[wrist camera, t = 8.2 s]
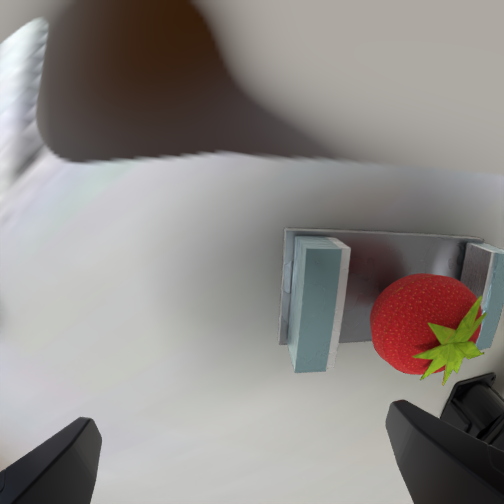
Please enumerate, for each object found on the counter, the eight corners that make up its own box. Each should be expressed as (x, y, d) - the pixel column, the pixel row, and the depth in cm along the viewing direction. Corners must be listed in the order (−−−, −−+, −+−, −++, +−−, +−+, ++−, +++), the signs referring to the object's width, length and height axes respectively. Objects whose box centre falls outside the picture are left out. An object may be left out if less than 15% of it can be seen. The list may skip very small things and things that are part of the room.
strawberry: (354, 244, 20) (436, 308, 10) (443, 257, 20) (536, 310, 10) (335, 326, 21) (387, 425, 11) (421, 328, 21) (493, 405, 12)
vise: (476, 236, 21) (514, 250, 16) (458, 325, 23) (489, 350, 18) (284, 227, 20) (296, 243, 16) (277, 337, 22) (286, 376, 18)
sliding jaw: (334, 236, 19) (352, 249, 16) (322, 342, 21) (335, 370, 18) (295, 235, 19) (306, 248, 16) (287, 343, 21) (294, 372, 17)
